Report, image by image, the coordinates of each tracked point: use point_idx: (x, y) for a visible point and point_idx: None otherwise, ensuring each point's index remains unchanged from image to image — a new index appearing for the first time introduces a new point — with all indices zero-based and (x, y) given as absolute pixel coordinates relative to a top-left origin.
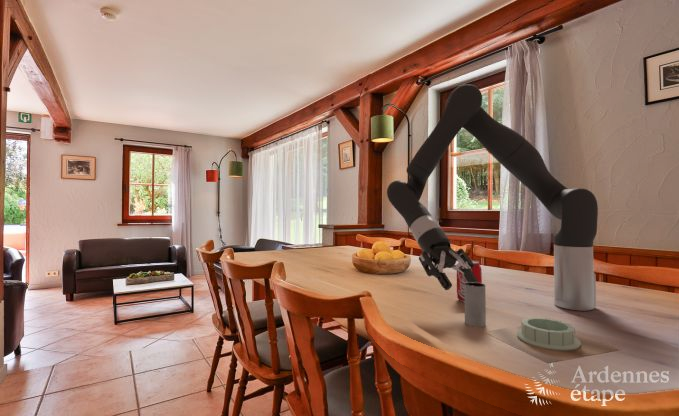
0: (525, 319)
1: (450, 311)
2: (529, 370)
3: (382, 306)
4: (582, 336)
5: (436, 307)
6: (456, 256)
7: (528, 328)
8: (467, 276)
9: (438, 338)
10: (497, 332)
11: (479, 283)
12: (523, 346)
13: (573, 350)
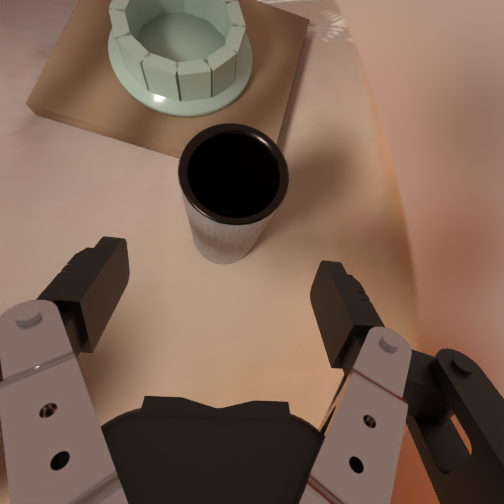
0: (185, 69)
1: None
2: (333, 51)
3: None
4: (81, 12)
5: None
6: (53, 467)
7: (240, 47)
8: (102, 307)
9: (368, 244)
10: None
11: (186, 173)
12: (273, 74)
13: None
